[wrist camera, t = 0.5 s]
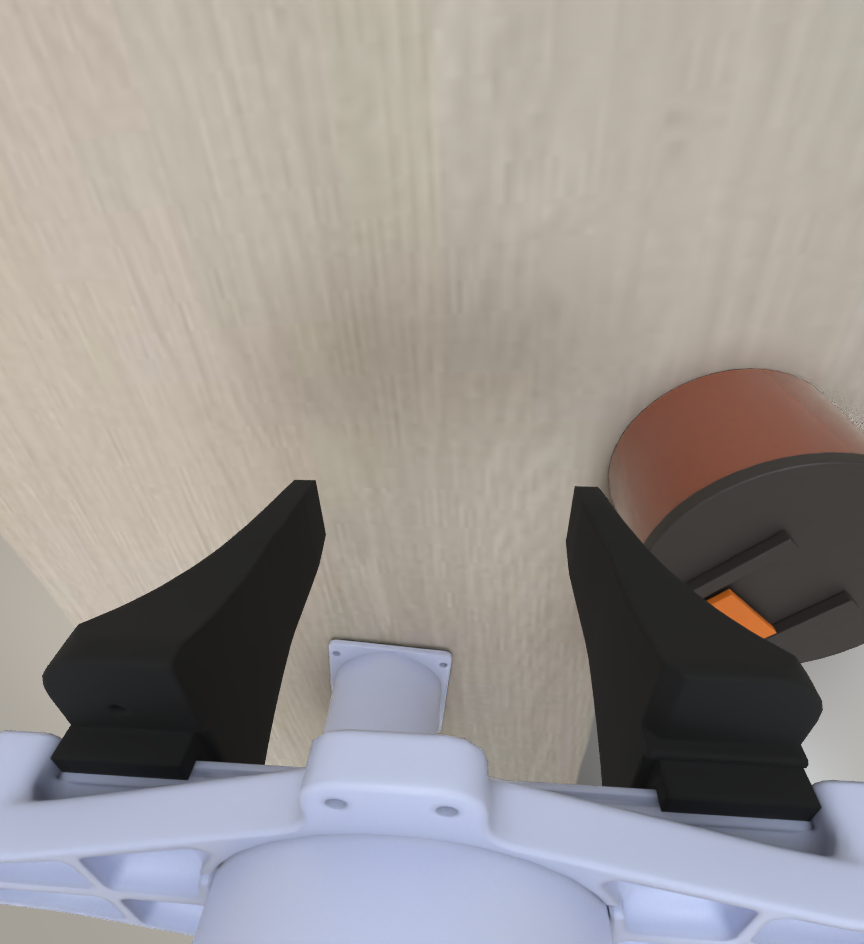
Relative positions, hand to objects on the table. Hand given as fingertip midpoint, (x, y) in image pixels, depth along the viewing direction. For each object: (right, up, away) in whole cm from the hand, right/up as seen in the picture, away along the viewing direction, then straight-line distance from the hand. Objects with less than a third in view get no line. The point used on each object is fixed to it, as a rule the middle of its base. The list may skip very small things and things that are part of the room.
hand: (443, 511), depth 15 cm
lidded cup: (+13, +1, +10) cm, 17 cm away
